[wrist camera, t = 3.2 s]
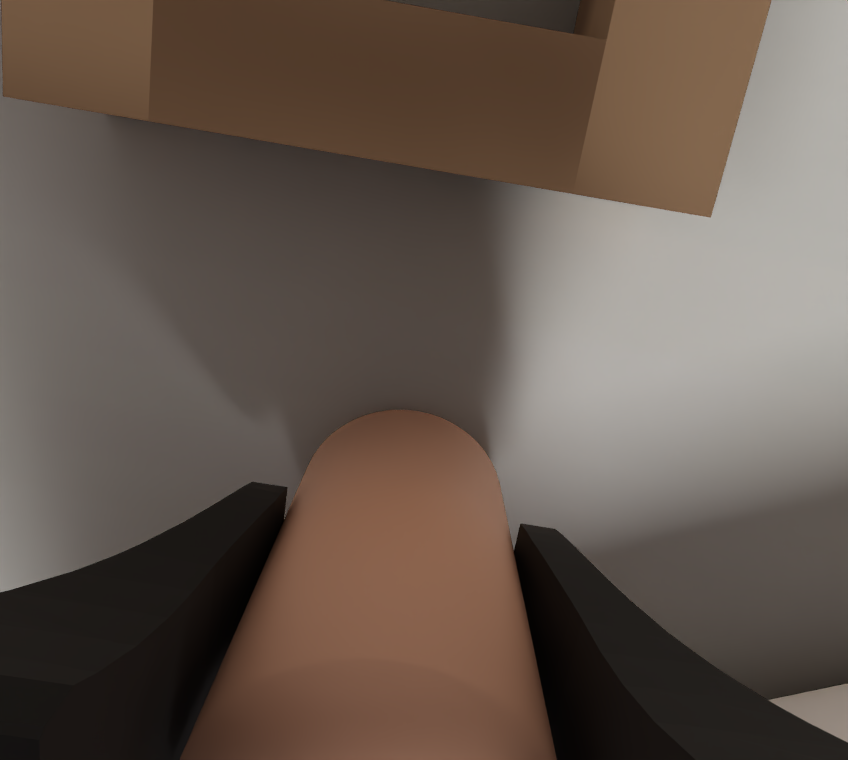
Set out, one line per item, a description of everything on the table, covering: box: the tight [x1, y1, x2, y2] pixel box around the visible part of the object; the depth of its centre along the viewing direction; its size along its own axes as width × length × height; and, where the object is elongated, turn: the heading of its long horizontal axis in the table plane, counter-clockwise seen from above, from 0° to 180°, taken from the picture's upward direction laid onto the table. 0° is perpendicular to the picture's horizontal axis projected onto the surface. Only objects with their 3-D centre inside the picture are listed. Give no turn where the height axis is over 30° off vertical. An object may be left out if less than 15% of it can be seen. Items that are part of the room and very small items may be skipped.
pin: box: [180, 410, 557, 760], centre depth 10 cm, size 4×4×7 cm
